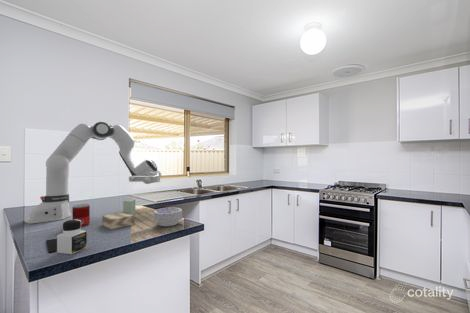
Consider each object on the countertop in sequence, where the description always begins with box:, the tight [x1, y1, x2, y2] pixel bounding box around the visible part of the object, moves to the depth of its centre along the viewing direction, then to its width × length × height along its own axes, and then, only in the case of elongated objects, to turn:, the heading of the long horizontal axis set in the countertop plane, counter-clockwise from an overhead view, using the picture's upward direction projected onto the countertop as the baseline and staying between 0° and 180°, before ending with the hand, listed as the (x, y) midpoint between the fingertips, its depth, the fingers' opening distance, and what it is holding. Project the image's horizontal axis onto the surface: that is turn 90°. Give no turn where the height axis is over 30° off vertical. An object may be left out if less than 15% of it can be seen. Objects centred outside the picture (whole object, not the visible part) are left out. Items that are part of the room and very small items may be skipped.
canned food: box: [71, 203, 91, 228], centre depth 131 cm, size 8×8×11 cm
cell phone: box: [45, 237, 57, 254], centre depth 102 cm, size 9×18×1 cm, turn 41°
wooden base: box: [102, 212, 135, 230], centre depth 131 cm, size 12×12×5 cm
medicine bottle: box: [56, 219, 88, 255], centre depth 95 cm, size 7×7×12 cm
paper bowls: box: [153, 206, 183, 227], centre depth 132 cm, size 15×15×8 cm
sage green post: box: [122, 199, 136, 219], centre depth 145 cm, size 5×5×11 cm
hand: (138, 179), depth 157 cm, fingers open, 8 cm apart
